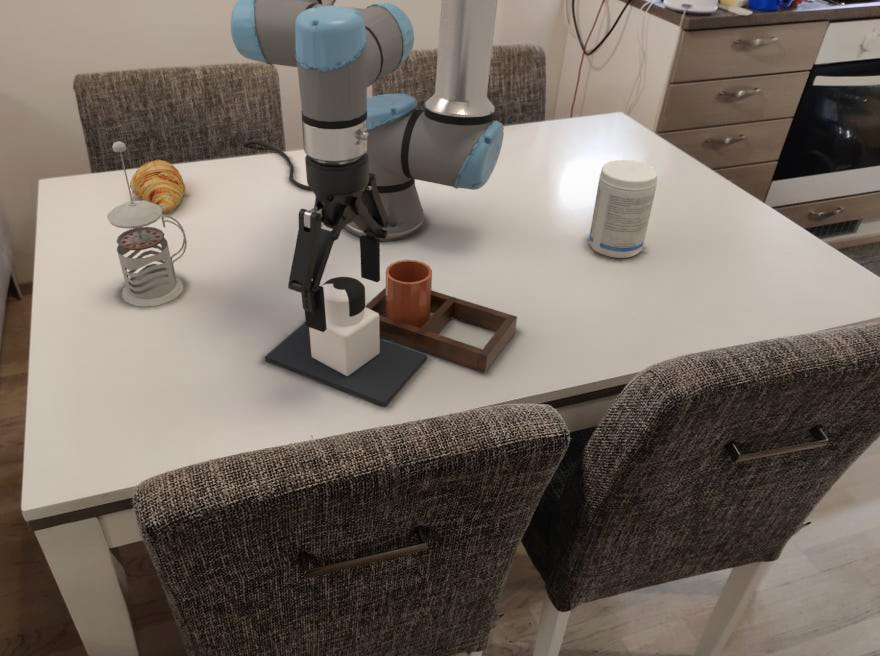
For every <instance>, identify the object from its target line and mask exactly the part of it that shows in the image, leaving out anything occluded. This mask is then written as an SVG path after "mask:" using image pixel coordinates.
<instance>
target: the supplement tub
mask: <svg viewBox="0 0 880 656" xmlns="http://www.w3.org/2000/svg"><path fill="white" fill-rule="evenodd" d="M658 175H659V173H658V171H657V169H656V168H655V167H653V166H652V165H650V164H648V163H644V162H642V161H637V160H631V159H619V160H618V159H617V160H611V161H609V162H606V163H604V164H603V165H602V167H601V171H600V173H599V179H598V182H597V183H598V184H597V188H596V189H597V190H596V196H595V201H594V207H593V212H592V213H593V214H592V218H591V225H590V230H589V238H588V243H589V246H590V248H592V250H594V251H595V252H596V253H598V254H600V255H603V256H606V257H610V258H614V259H615V258H616V259H625V258H630V257H634V256H636V255H638V254H639V253H640V252H641V251H642V249H643V247H644V243H645V238H646V234H647V230H648V225H649V221H650V216H651V213H652V208H653V203H654V198H655V194H656V188H657V183H658Z"/></svg>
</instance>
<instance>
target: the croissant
mask: <svg viewBox="0 0 880 656" xmlns="http://www.w3.org/2000/svg"><path fill="white" fill-rule="evenodd" d="M129 187H130V191H132V192H131V193H133V194H134V195H135V196H137V197H138V199H139V200H140V201H142V200H144V201H147V202H151V203H154V204H156V205H159V206H160V207H161V209H162V213H171V212H172V211H174V210H175V209H176V208H177V207H178V206H179V205H180V204H181V201H182V200H183V198H184V195H185V193H186V184H185V183H184V178H183V177H182V174H181V173H180V171H179V170H178V168H177V167H176V166H175V165H173V164H172V163H170V162H169V161H166V160H162V159H160V158H157V159H155V160H154V159H153V160H151V161H147V162H144V164H143V165H142V164H141V166H139V167H138V168H137V170H135V172H134V174H133V175H132V177H131V179H130V182H129Z"/></svg>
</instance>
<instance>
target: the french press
mask: <svg viewBox="0 0 880 656" xmlns="http://www.w3.org/2000/svg"><path fill="white" fill-rule="evenodd" d="M111 147H112V151H113V152H115V153H119V155H120V160H121V163H122V168H123V173H124V175H125V180H126V184H127V188H128V193H129V197H130V201H126V202H124V203H121V204H119V205H116V206H114V207H113V209H111V210H110V211H108V213H107V216H106V218H107V220H108V223H109V224H110V225H112V226H115V227H116V228H119V229H126V230H125V231H123V232H122V233H120V234H119V235H118V236H117V239H116V243H117V247H116V252H117V256H118V259H119V263H120V268H121V272H122V276H123V279H124V282H125V287H123V289H122V293H121V298H122V299H123V300H124V302H126V303H128V304H130V305H132V306H136V307H144V308H145V307H157V306H159V305H163V304H166V303H167V304H168V303H169V302H171V301H173V300H174V299H176V298H179V296H180V295H181V294H182V292H183V291H184V283H183V281H181V279H180V278H179V277H177V276H176V270H175V266H174V263H175V262H176V261H178V260H180V259H181V258H182V257H183V255H184V254H185V252H186V250H187V244H188V242H187V237H186V233H185V230H184V227H183V226H182V224H181V223H180V221H179V220H177V219H175V218H174V217H172V216H170V215H169V216H168V215H165V214H164V215H162V213H163V211H162V209H161V207H160V206H159V205H156V204H154V203H151V202H147V201H144V200H133V196H132V192H131V191H132V190H131V188H130V182H129V179H128V175H127V174H128V173H127V171H126V166H125V162H124V161H125V160H124V157H123V152H125V151H127V146H126V143H124V142H123V141H120V140H118V141H114V142H113V144H112V146H111ZM165 218H169V220H168V219H165ZM160 219H161V222H162V226H163V228H164V229H165V228H166V223H170V224H173V225H175V226H176V227H178V229H179V230H180V231H181V233H182V235H183V240H182V244H181V247H180V248H179V250H178V251H176V252H175V253H174V254H172V255H171V253H170V247H169V244H168V240H167V239H166V237H165V233H164V231H163V230H162V229H159V228H157V227H155V226H154V227H153V226H150V225H152V224H154V223H156V222H157V221H159V220H160ZM170 219H171V220H170ZM148 249H150V250H148ZM153 249H158V250H159V251H160V252H159V251H156V250H153ZM143 250H144V251H143ZM145 250H146V251H145ZM182 250H183V251H182ZM131 251H133V252H131ZM141 251H143V252H141ZM129 252H131V253H130V254H129V255H127V253H129ZM139 252H141V253H140V254H139ZM181 252H182V253H181ZM180 253H181V254H180ZM138 254H139V255H138ZM179 254H180V255H179ZM125 255H127V256H125ZM136 255H138V256H137V257H135V256H136ZM149 255H150V256H149ZM177 255H179V256H177ZM175 256H177V257H176V258H175ZM173 258H174V259H173ZM154 262H158V263H159V264H157V263H154ZM139 269H141V270H139ZM127 270H128V271H127ZM137 270H139V271H138V272H137Z"/></svg>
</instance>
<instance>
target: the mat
mask: <svg viewBox="0 0 880 656" xmlns="http://www.w3.org/2000/svg"><path fill="white" fill-rule="evenodd" d="M264 359H265V362H268V363H271V364H272V365H275V366H278V367H280V368H283V369H286V370H288V371H290V372H294V373H296V374H298V375H301V376H304V377H306V378H309V379H312V380H314V381H317V382H320V383H322V384H325V385H327V386H330V387H332V388H335V389H337V390H340V391H342V392H346V393H348V394H350V395H353V396H355V397H358V398H360V399H363V400H366V401H368V402H371V403H373V404H375V405H379V406H381V407H383V408H386V407H387V405H388V404H390V402H391V401H392V400H393V398H394V397H396V395H397V394H398V393H399V392H400V390H401V389H402V388H403V387H404V386H405V385H406V384H407V382H409V380H410V379H411V378H412V377H413V376H414V374H416V372H417V371H418V370H419V369H420V367H421V366H422V365H423V364H424V363H425V362H426V361H427V359H428V355H427V354H425V353H422V352H420V351H416V350H413V349H410V348H408V347H405V346H401V345H399V344H396V343H393V342H390V341H387V340H386V339H385V340H384V339H382V338H380V353H379V354H378V355H377V356H375V357H374V358H373V359H371V360H370V361H368V362H367V363H366V364H364V365H363V366H362V367H360V368H359V369H357V370H356V371H355V372H353V373H352V374H351V375H349V376H345V375H343V374H342V373H340V372H338V371H336V370H334V369H332V368H331V367H329V366H327V365H325V364H323V363H321V362H319V361H318V360H316V359H314V358H312V355H311V343H310V332H309V327H307V326H306V321H304V322H303V323H302V324H301V325H300V326H298V327H297V328H296V329H295V330H294V331H293V332H291V334H289V335H288V336H287V337H286V338H285V339H284V340H282V341H281V342H280V343H279V344H278V345H277V346H275V347H274V348H273V349H271V351H269V352H268V353H267V354H266V355H265V356H264Z"/></svg>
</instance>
